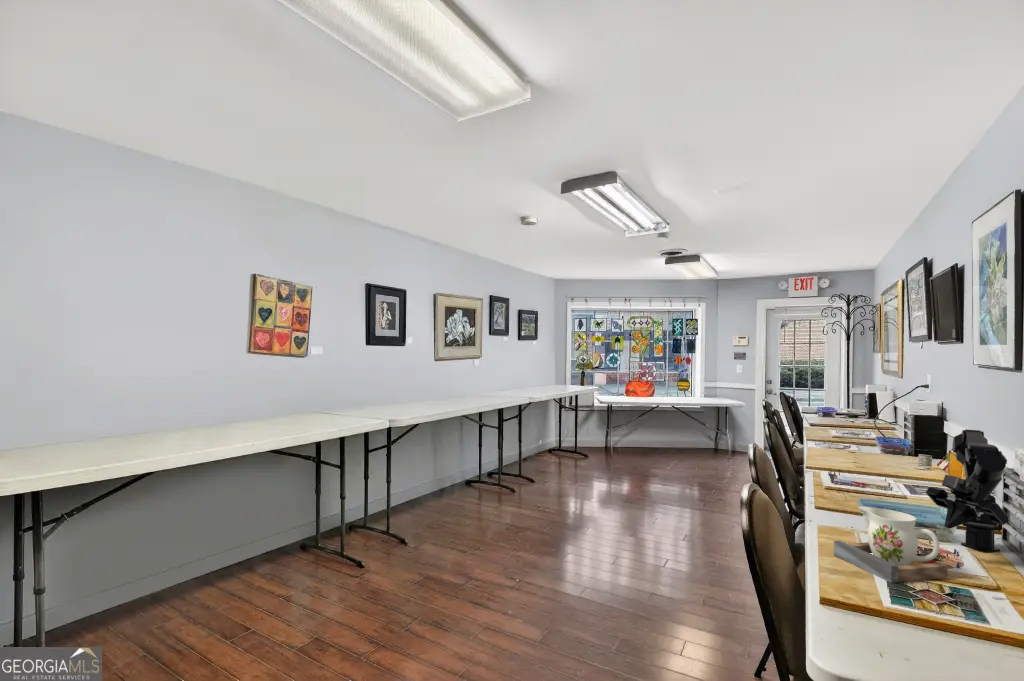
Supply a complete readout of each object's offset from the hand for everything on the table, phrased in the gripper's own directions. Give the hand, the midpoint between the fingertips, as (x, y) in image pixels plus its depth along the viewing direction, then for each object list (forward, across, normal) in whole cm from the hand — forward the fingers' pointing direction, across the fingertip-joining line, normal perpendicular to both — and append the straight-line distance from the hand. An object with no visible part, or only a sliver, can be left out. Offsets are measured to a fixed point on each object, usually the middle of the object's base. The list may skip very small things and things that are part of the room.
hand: (946, 527), depth 147 cm
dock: (+20, +1, -7) cm, 21 cm away
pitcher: (+18, 0, -5) cm, 19 cm away
